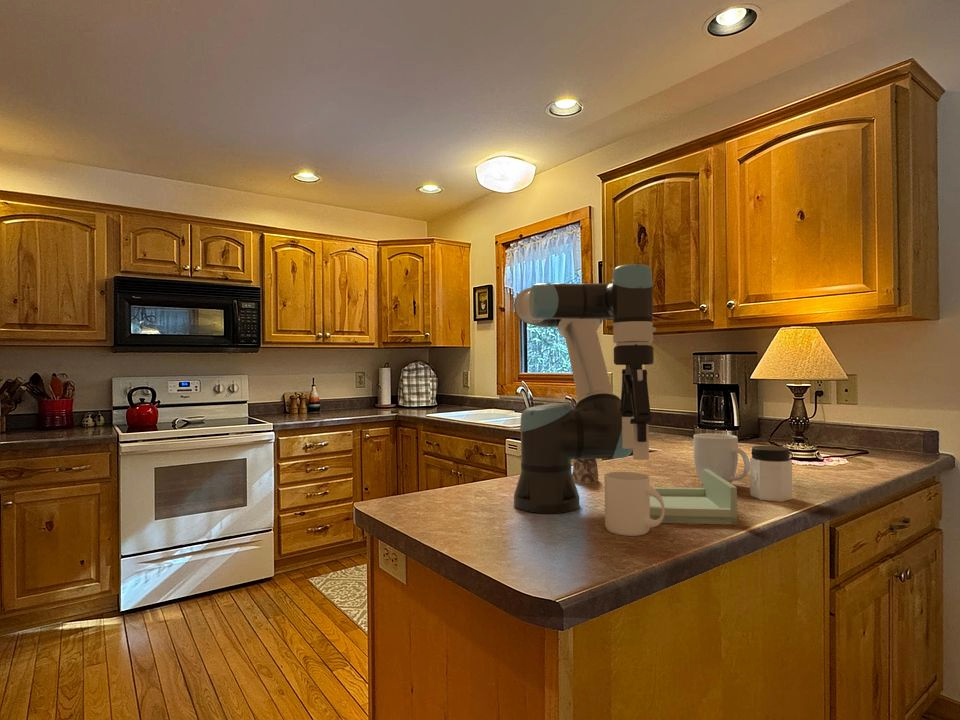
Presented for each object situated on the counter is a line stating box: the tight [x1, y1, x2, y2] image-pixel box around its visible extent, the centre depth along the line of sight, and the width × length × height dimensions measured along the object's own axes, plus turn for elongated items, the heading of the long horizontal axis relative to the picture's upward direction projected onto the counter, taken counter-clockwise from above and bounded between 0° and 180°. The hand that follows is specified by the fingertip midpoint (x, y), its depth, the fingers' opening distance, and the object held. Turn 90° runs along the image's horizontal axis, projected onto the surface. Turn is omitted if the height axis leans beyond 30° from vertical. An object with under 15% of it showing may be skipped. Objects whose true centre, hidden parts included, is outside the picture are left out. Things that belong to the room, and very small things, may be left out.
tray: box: [650, 469, 738, 525], centre depth 124 cm, size 18×19×8 cm
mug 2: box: [692, 432, 750, 484], centre depth 148 cm, size 15×11×13 cm
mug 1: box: [603, 471, 665, 537], centre depth 109 cm, size 9×12×11 cm
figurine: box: [572, 459, 599, 485], centre depth 156 cm, size 7×7×12 cm
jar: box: [749, 445, 793, 503], centre depth 135 cm, size 9×8×12 cm
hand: (634, 453), depth 109 cm, fingers open, 13 cm apart
